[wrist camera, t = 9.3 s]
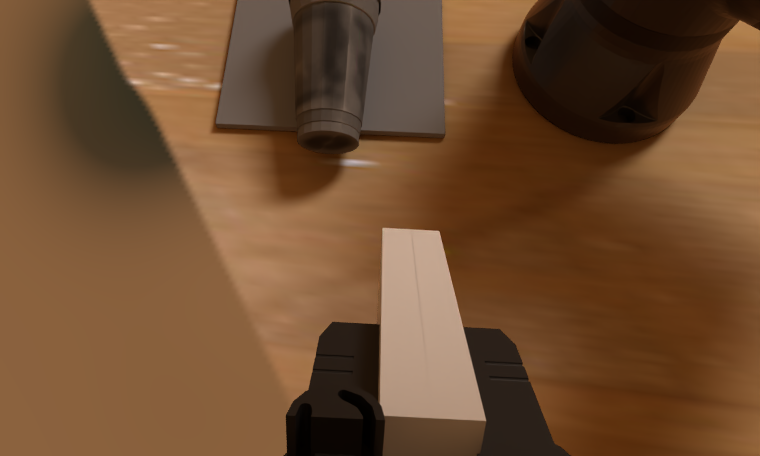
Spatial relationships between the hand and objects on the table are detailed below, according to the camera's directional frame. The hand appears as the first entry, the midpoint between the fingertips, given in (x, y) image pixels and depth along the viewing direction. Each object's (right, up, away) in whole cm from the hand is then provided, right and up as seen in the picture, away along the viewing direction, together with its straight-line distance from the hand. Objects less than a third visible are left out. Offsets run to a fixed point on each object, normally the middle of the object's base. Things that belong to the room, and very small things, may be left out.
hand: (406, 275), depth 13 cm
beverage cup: (-5, +7, +22) cm, 24 cm away
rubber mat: (-4, +22, +31) cm, 38 cm away
